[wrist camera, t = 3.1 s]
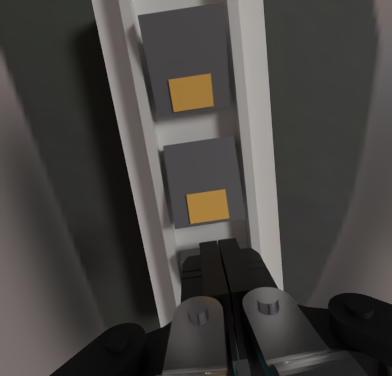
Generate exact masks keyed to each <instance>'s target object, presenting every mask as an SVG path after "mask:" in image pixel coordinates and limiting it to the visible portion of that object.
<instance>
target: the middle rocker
mask: <svg viewBox="0 0 392 376" xmlns="http://www.w3.org/2000/svg"><path fill="white" fill-rule="evenodd" d="M163 149H164V156H165V163H166V170H167V177H168V184H169V191H170V198H171V205H172V212H173V218H174V225H175V229H180V228H187V227H194V226H201V225H208V224H215V223H221V222H228V221H235V220H242V219H246V217H245V210H244V203H243V196H242V190H241V183H240V176H239V169H238V163H237V156H236V149H235V142H234V136H226V137H220V138H213V139H206V140H199V141H193V142H186V143H179V144H172V145H166V146H163Z"/></svg>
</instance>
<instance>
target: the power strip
mask: <svg viewBox="0 0 392 376" xmlns="http://www.w3.org/2000/svg"><path fill="white" fill-rule="evenodd" d="M221 2H224V17H225V32H226V48H227V63H228V78H229V93H230V107H225V108H218V109H211V110H205V111H198V112H191V113H184V114H178V115H171V116H164V117H158V115H157V110H156V105H155V100H154V95H153V90H152V85H151V80H150V75H149V70H148V65H147V60H146V55H145V50H144V46H143V41H142V36H141V31H140V26H139V21H138V16H137V15H143V14H149V13H156V12H162V11H169V10H175V9H182V8H189V7H195V6H202V5H208V4H215V3H221ZM92 4H93V9H94V14H95V18H96V23H97V28H98V33H99V37H100V42H101V47H102V52H103V56H104V61H105V66H106V70H107V75H108V80H109V85H110V89H111V94H112V99H113V103H114V108H115V113H116V118H117V122H118V127H119V132H120V137H121V141H122V146H123V151H124V155H125V160H126V165H127V170H128V174H129V179H130V184H131V188H132V193H133V198H134V203H135V207H136V212H137V217H138V222H139V226H140V231H141V236H142V240H143V245H144V250H145V255H146V259H147V264H148V269H149V273H150V278H151V283H152V288H153V292H154V297H155V302H156V307H157V311H158V316H159V321H160V325H161V328H162V327H164V326H165V325H167V324H169V323H170V322H171V321H172V319H173V314H174V311H175V309H176V308H177V307H178V305H179V304H180V302H181V283H182V265H181V251H182V250H188V249H195V248H200V247H199V243H201V242H208V241H215V240H217V244H218V240H221V239H228V238H236V240H237V242H244V241H246V244H247V247H248V248H250V247H251V248H252V249H254V250H255V251H257V252H258V253H259V254H260V256H261V257H262V259H263V262H264V263H265V265H266V267H267V268H268V270H269V272H270V274H271V276H272V278H273V279H274V281H275V283H276V285H277V287H278V289H280V290H282V291H283V278H282V264H281V250H280V236H279V221H278V207H277V193H276V179H275V165H274V150H273V136H272V122H271V108H270V93H269V79H268V65H267V51H266V37H265V22H264V8H263V0H92ZM226 136H234V142H235V149H236V156H237V163H238V169H239V176H240V183H241V190H242V196H243V203H244V210H245V217H246V219H242V220H235V221H228V222H221V223H215V224H208V225H201V226H194V227H187V228H180V229H175V225H174V218H173V212H172V205H171V198H170V191H169V184H168V177H167V170H166V163H165V156H164V149H163V146H166V145H172V144H179V143H186V142H193V141H199V140H206V139H213V138H220V137H226Z"/></svg>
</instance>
